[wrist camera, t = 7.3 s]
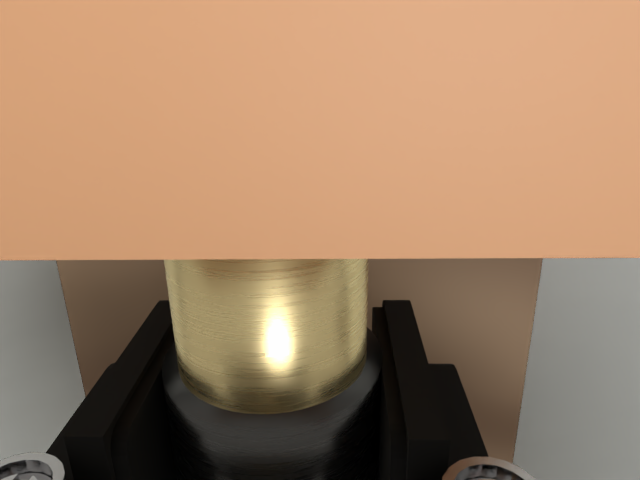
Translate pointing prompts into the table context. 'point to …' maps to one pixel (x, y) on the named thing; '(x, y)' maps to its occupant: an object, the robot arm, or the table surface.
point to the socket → (319, 129)
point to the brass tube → (272, 370)
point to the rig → (383, 284)
